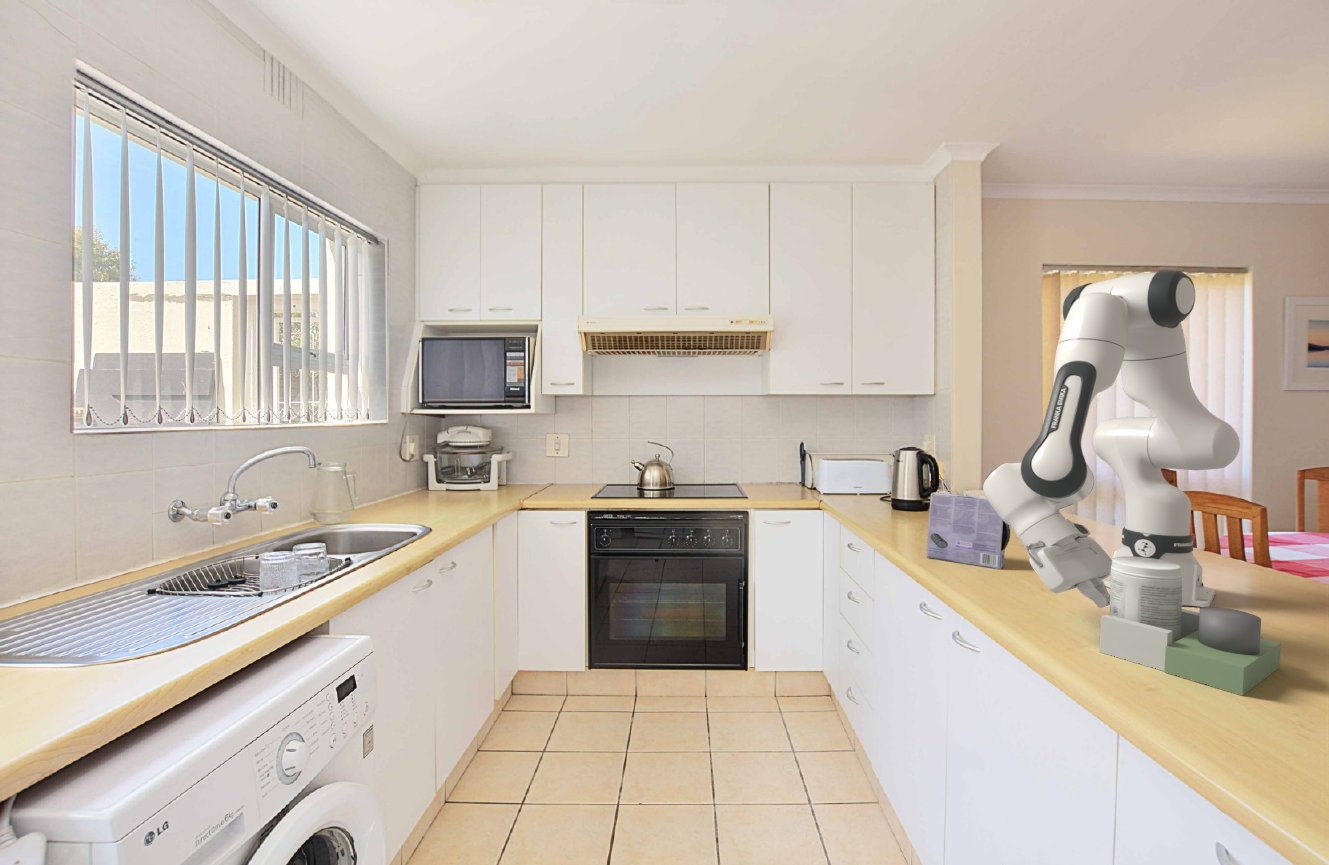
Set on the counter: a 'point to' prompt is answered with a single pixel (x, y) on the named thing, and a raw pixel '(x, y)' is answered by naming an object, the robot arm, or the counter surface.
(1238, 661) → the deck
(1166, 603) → the supplement tub
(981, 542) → the cake pan box
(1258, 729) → the counter surface
